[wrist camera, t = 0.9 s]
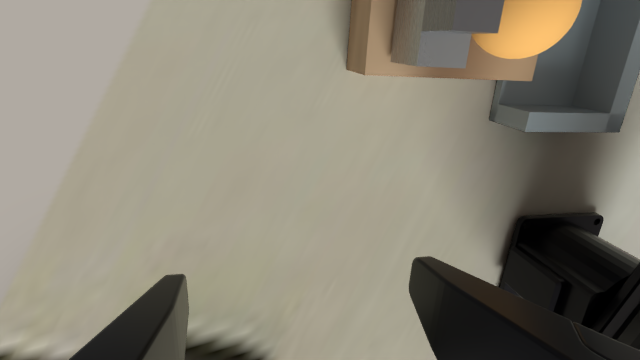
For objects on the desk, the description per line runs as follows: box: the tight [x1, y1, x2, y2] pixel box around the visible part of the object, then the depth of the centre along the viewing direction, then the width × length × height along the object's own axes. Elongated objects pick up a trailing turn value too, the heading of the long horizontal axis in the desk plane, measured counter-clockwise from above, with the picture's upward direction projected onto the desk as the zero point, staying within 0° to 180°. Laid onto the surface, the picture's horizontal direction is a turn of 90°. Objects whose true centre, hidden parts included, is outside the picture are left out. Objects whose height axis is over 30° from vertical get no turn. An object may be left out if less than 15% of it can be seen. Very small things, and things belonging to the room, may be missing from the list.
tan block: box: [347, 0, 538, 81], centre depth 18 cm, size 8×6×3 cm
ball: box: [471, 0, 582, 59], centre depth 15 cm, size 4×4×4 cm
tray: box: [489, 0, 640, 132], centre depth 19 cm, size 6×11×3 cm, turn 177°
